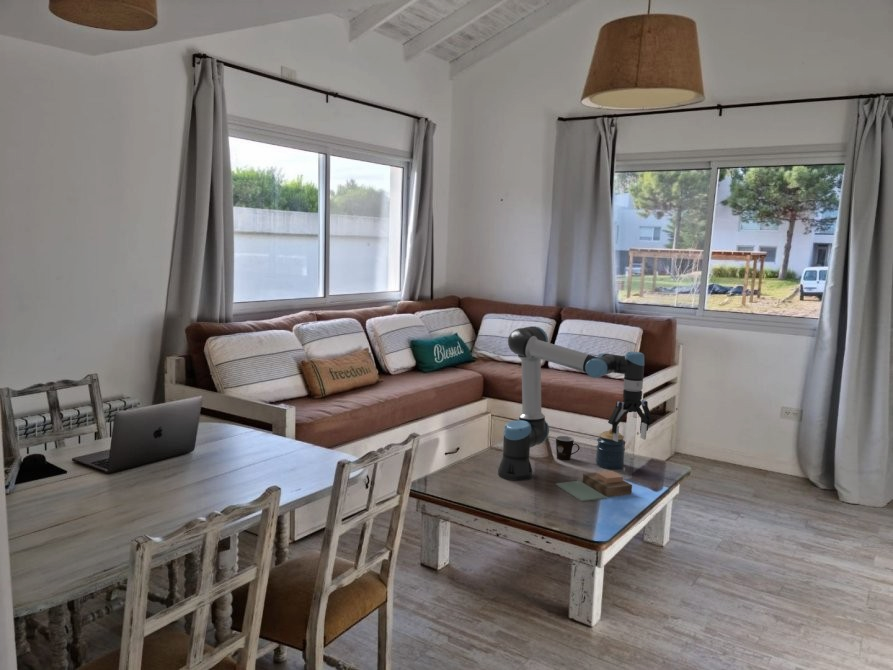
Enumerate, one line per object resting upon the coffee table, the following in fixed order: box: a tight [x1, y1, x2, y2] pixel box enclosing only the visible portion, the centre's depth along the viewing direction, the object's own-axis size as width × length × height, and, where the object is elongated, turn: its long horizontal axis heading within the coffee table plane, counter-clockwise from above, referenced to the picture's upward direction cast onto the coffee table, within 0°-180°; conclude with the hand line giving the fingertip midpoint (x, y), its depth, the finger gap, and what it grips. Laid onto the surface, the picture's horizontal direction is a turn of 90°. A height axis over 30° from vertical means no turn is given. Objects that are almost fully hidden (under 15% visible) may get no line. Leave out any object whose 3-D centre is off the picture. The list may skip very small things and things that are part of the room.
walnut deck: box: [582, 471, 633, 498], centre depth 292 cm, size 18×12×4 cm, turn 22°
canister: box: [595, 428, 626, 470], centre depth 322 cm, size 13×13×18 cm
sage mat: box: [555, 480, 608, 502], centre depth 287 cm, size 20×12×1 cm, turn 22°
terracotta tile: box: [596, 470, 624, 483], centre depth 292 cm, size 8×8×2 cm
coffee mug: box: [555, 435, 581, 461], centre depth 328 cm, size 12×9×10 cm
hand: (629, 439), depth 286 cm, fingers open, 13 cm apart
